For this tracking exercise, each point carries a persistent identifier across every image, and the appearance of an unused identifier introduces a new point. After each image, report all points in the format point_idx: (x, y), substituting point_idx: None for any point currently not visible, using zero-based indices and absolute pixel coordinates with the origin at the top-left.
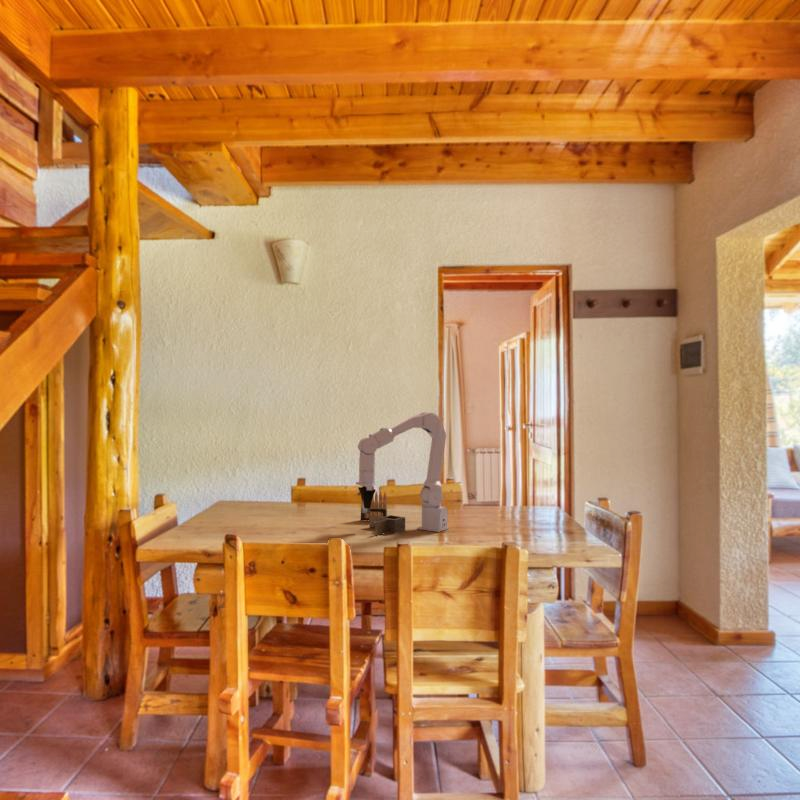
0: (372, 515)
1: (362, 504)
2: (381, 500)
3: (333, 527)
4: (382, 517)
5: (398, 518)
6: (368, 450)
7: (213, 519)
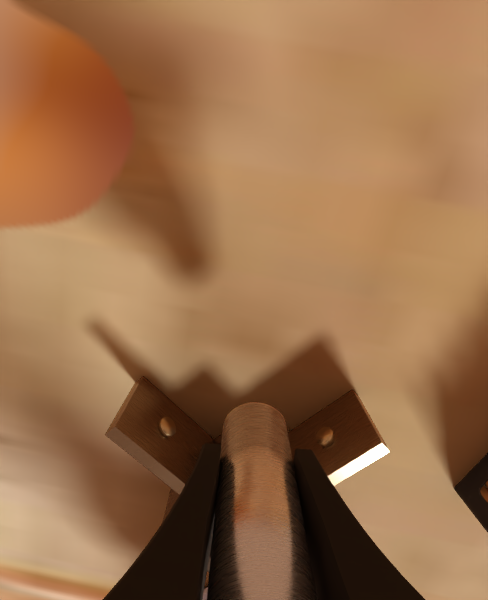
0: (359, 456)
1: (316, 461)
2: None
3: (437, 181)
4: None
5: None
6: None
7: None
